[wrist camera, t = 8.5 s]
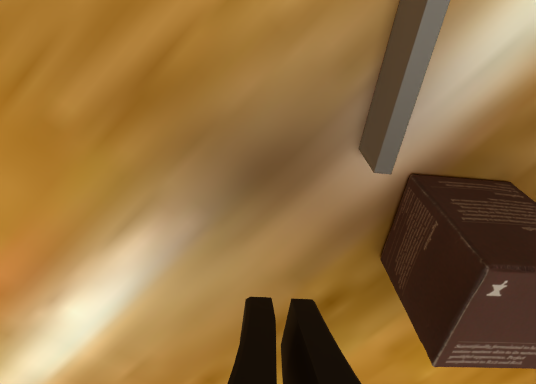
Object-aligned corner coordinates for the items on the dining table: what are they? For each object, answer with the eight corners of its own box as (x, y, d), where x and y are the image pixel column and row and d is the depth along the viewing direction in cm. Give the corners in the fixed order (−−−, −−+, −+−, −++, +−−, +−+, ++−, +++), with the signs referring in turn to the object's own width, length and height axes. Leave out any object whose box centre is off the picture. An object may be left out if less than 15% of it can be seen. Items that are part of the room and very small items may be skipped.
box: (376, 257, 23) (427, 369, 16) (408, 169, 20) (487, 266, 13) (468, 263, 23) (552, 372, 17) (513, 180, 20) (635, 275, 14)
